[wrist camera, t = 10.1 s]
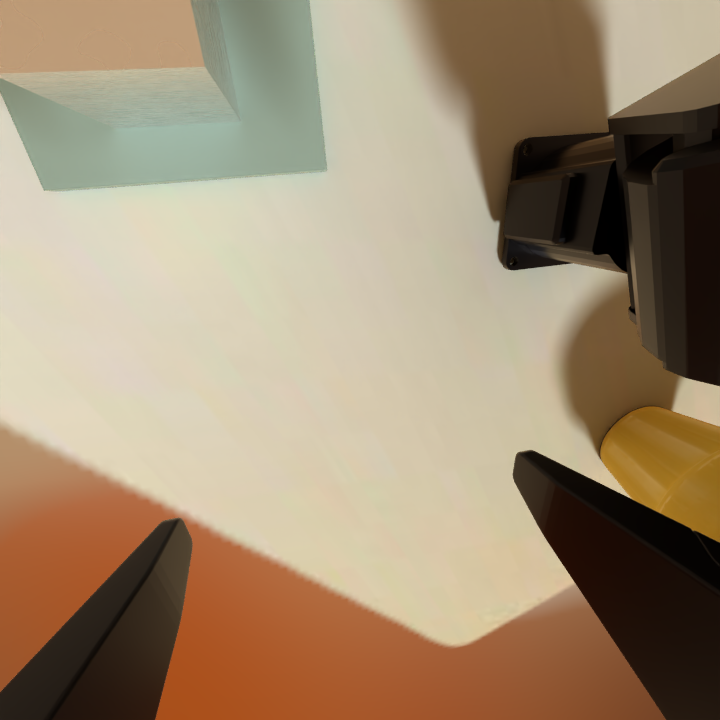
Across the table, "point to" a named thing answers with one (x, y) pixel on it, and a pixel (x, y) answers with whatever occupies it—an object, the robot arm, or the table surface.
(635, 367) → the table surface
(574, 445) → the table surface
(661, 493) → the plant pot
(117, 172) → the teal pad
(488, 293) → the table surface
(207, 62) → the pale wooden block
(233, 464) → the table surface
